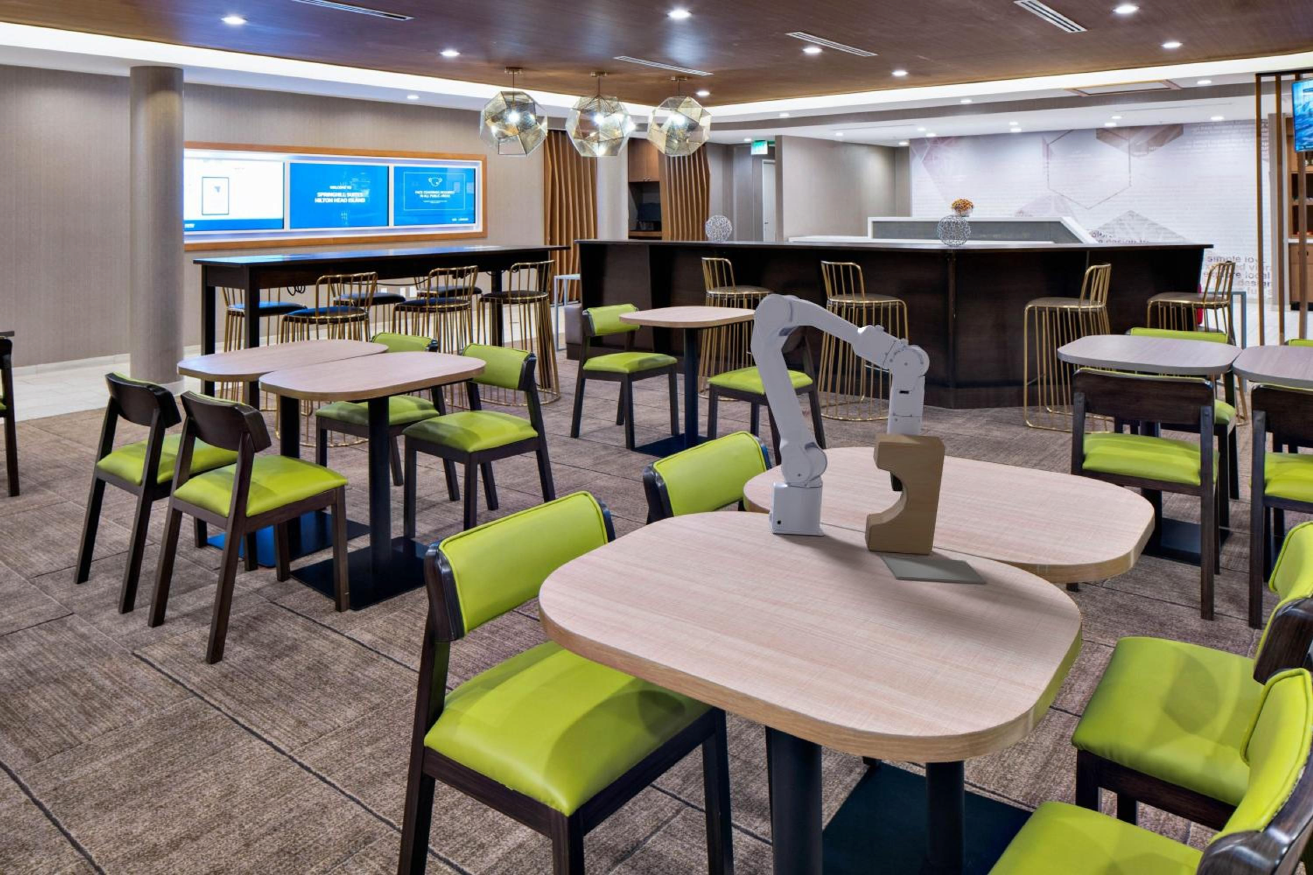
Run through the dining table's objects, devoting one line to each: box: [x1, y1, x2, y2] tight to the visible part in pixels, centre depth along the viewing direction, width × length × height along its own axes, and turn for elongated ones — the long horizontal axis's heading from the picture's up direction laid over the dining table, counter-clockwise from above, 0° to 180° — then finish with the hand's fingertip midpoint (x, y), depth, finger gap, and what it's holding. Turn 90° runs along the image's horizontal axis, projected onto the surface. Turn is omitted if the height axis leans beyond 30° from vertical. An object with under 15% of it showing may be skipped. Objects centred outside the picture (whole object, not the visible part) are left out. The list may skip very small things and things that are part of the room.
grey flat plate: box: [881, 555, 988, 585], centre depth 154 cm, size 14×12×1 cm
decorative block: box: [864, 432, 946, 556], centre depth 163 cm, size 11×6×20 cm, turn 83°
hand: (898, 490), depth 168 cm, fingers closed
